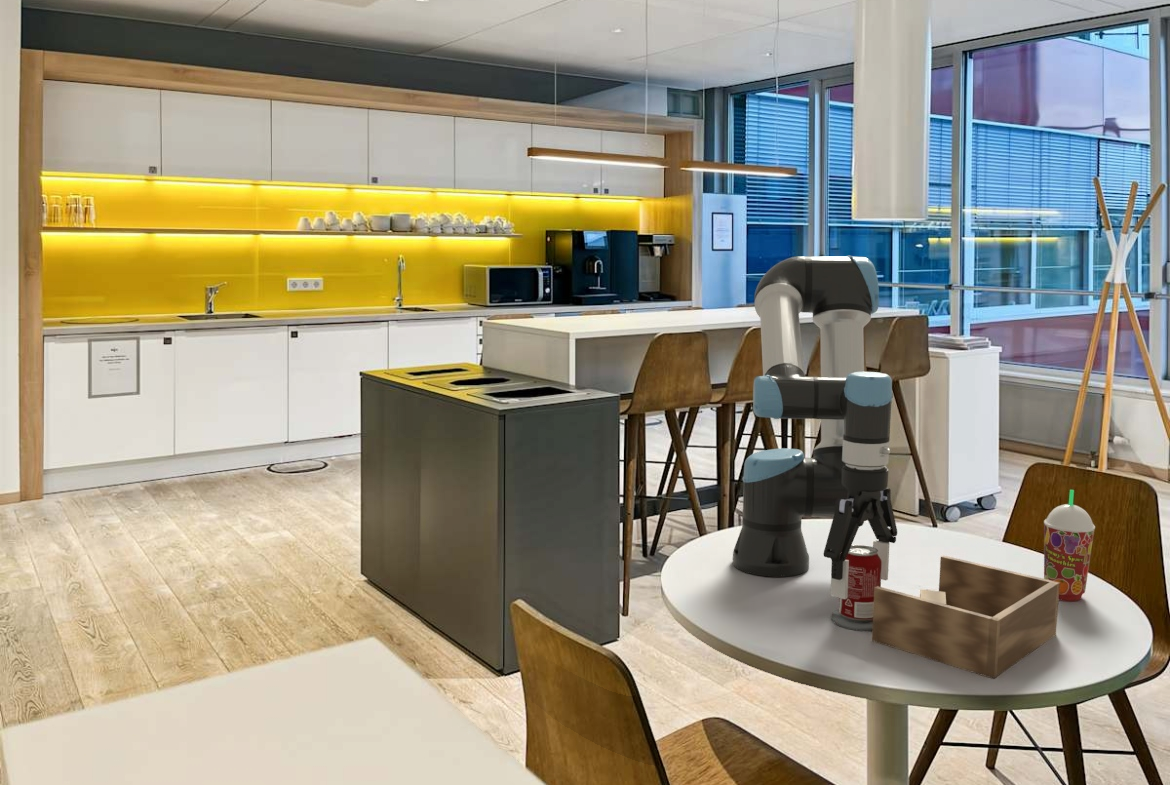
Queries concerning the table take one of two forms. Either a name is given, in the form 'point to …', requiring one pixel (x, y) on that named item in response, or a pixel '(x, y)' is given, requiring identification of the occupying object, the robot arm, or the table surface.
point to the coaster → (851, 623)
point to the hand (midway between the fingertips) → (859, 587)
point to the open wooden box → (970, 617)
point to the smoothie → (1068, 549)
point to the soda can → (861, 583)
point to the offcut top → (933, 596)
